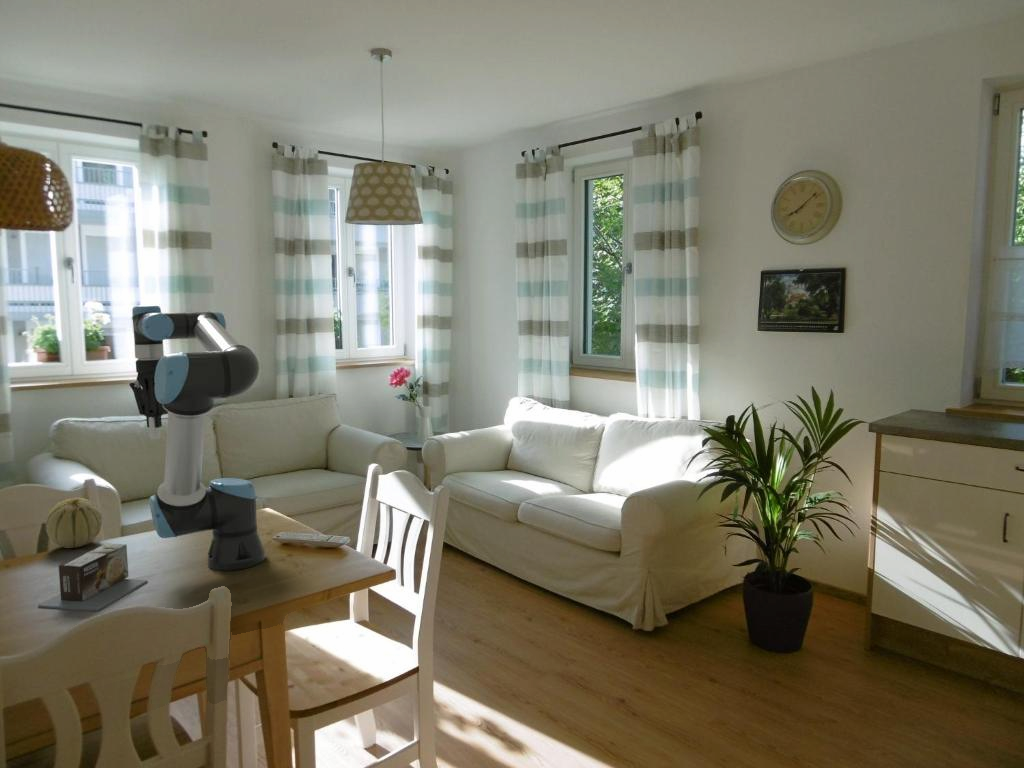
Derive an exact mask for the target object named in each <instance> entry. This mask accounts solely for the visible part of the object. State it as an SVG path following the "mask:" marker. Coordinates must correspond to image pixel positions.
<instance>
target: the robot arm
mask: <svg viewBox="0 0 1024 768" xmlns="http://www.w3.org/2000/svg"><path fill="white" fill-rule="evenodd" d="M131 310H132V313H131V314H132V315H131V320H132V328H133V339H134V358H135V359H136V360H135V371H136V373H137V376H136V379H135V380H134V381H133V382H129V387H130V388H131V389H132V392H133V395H134V399H135V403H136V405H137V410H138V413H139V415H143V416H144V417H145V418H146V426H147V427H146V428H148V429H149V430H148V431H149V440H157V439H160V438H161V427H162V426H163V424H162V423H163V422H162V416H164V415H166V414H167V430H166V432H167V433H166V445H165V448H166V450H165V464H164V466H165V467H164V482H162V483H161V484H159V486H158V488H157V492H156V493H157V494H153V495H150V496H149V501H148V502H149V508H150V513H151V517H152V522H153V526H154V528H155V532H156V534H157V535H158V537H159V538H162V539H169V538H178V537H181V536H185V535H191V534H195V533H197V534H198V533H201V532H207V531H212V538H211V542H210V547H209V550H208V554H207V557H206V560H207V567H209V569H211V570H215V571H216V570H217V571H225V572H226V571H237V570H243V569H244V570H245V569H249V568H251V567H252V568H253V567H254V566H257V565H259V564H261V563H263V562H264V560H265V559H266V550H265V547H264V545H263V543H262V540H261V538H260V535H259V533H258V522H257V521H258V520H257V503H256V502H257V501H256V499H257V496H256V489H255V485H254V483H253V482H252V481H250V480H247V479H243V478H231V477H229V478H228V477H223V478H216V479H211V480H210V482H209V484H208V487H207V486H205V485H204V483H202V482H201V480H202V468H203V467H202V466H203V456H204V455H203V453H204V446H205V445H204V441H205V431H206V421H207V420H206V419H207V418H206V417H207V414H208V413H209V412H211V411H212V409H213V408H214V402H215V400H217V399H227V398H234V397H237V396H240V395H242V394H243V393H245V392H247V391H248V390H249V389H251V387H252V386H253V385H254V384H255V382H256V381H257V379H258V375H259V371H260V363H259V360H258V358H257V356H256V354H255V353H254V352H253V351H252V350H251V349H250V348H249V347H247V346H246V345H244V344H240V343H239V342H238V341H237V340H236V339H235V338H234V336H232V335H231V334H230V333H229V332H228V331H227V324H226V319H225V315H224V314H223V312H220V311H211V310H210V311H194V312H193V311H189V312H162V309H161V307H160V306H159V305H135V306H133V307H132V309H131ZM181 339H182V340H184V339H185V340H187V339H189V340H190V339H196V340H197V341H198V342H199V344H200V345H201V347H203V349H204V350H205V351H199V352H197V351H196V352H195V351H194V352H184V351H183V352H182V351H180V352H175V353H167V354H164V353H165V351H164V340H181Z"/></svg>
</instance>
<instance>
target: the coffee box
mask: <svg viewBox="0 0 1024 768" xmlns="http://www.w3.org/2000/svg"><path fill="white" fill-rule="evenodd" d="M127 547H128V546H127V544H126V543H112V542H111V543H106V544H103V545H101V546H98V547H97V548H94V549H91V550H90V551H88V552H85V553H83V554H81V555H79V556H77V557H75V558H72V559H70V560H67V561H65V562H63V563H61V564H59V565H58V575H59V577H58V578H59V587H60V588H59V590H60V591H59V592H60V594H61V600H66V601H84V600H86V599H88V598H90V597H91V596H93V595H95V594H97V593H99V592H101V591H103V590H105V589H106V588H108V587H110V586H112V585H114V584H116V583H118V582H120V581H121V580H123V579H128V577H129V565H128V564H129V563H128V562H129V561H128V560H129V559H128V548H127Z"/></svg>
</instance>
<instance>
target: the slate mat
mask: <svg viewBox="0 0 1024 768" xmlns="http://www.w3.org/2000/svg"><path fill="white" fill-rule="evenodd" d="M146 583H148V579H133V578H129V579H128V578H125V579H123V580H121V581H120V582H118V583H116V584H114V585H112V586H110V587H108V588H106V589H105V590H103V591H101V592H99V593H97V594H95V595H93V596H91V597H90V598H88V599H86V600H84V601H66V600H61V593H58V594H56V595H55V596H52V597H51V598H49V599H47V600H45V601H43V602H42V603H39V604H38V605H37V607H38V608H42V609H43V608H44V609H58V610H60V609H61V610H72V611H74V610H75V611H87V612H88V611H89V612H99V611H101V610H102V609H104V608H106V607H108V606H109V605H111V604H113V603H114V602H116V601H118V600H120V599H121V598H124V597H125V596H127V595H128V594H130V593H131V592H133V591H135V590H136V589H138V588H140V587H141V586H143V585H145V584H146Z"/></svg>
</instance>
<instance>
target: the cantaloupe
mask: <svg viewBox="0 0 1024 768" xmlns="http://www.w3.org/2000/svg"><path fill="white" fill-rule="evenodd" d="M102 526H103V518H102V513H101V510H100V509H99V507H98V506H97V505H96V503H94V502H93V501H91V500H89V499H86V498H84V497H73V498H72V497H71V498H67V499H64V500H61V501H60V502H58V503H56V504H55V505H54V506H53V507H52V509H50V511H49V512H48V514H47V517H46V519H45V531H46V534H47V536H48V538H49V539H50V540H51V542H53V544H54V545H57V546H59V547H62V548H68V549H69V548H70V549H73V548H79V547H83V546H85V545H88V544H90V543H92V541H93V540H95V539H96V537H97V536H98V535H99V533H100V531H101V529H102Z"/></svg>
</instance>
